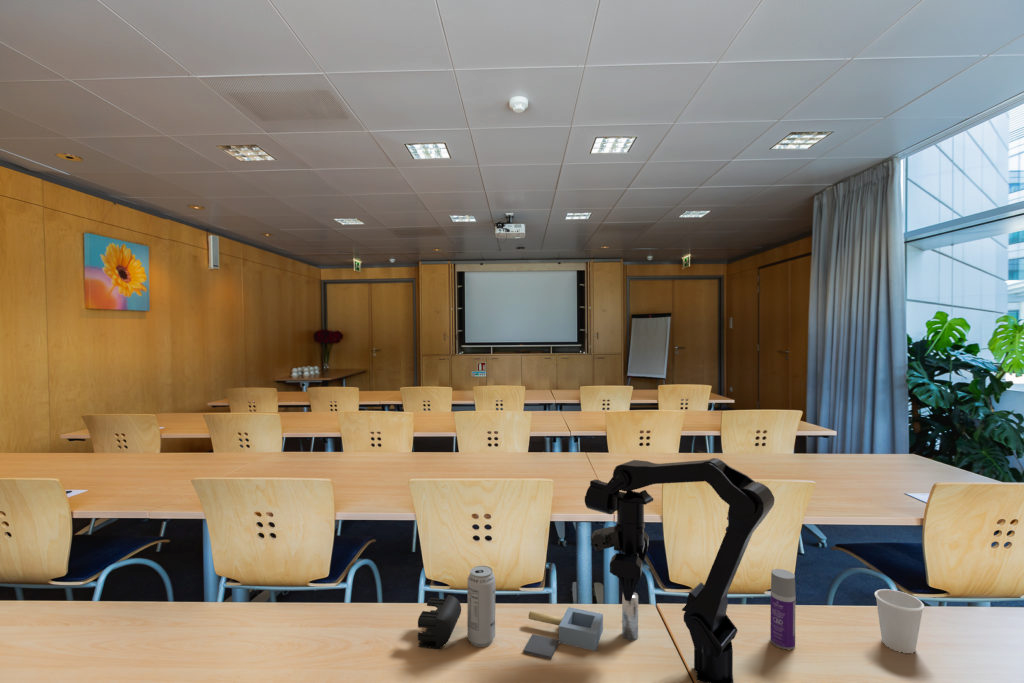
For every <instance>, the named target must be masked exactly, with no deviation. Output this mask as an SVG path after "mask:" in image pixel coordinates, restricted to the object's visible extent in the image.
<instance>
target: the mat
mask: <svg viewBox="0 0 1024 683" xmlns="http://www.w3.org/2000/svg"><path fill="white" fill-rule="evenodd" d="M558 643H559V639H556V638H553V637H547V636H544V635H538V634H536V633H535V634H534V633H532V634H531V636H530V637H529V639H528V641H527V643H526V645H525V647H524V648H523V652H522V653H523V654H526V655H531V656H534V657H538V658H542V659H547V660H552V659H553V656H554V654H555V652H556V650H557V647H558V645H559V644H560V643H559V644H558Z"/></svg>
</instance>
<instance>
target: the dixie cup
mask: <svg viewBox="0 0 1024 683" xmlns="http://www.w3.org/2000/svg"><path fill="white" fill-rule="evenodd" d="M874 597H875V598H876V600H875V601H876V606H877V614H878V616H877V617H878V622H879V628H880V636H881V642H882V644H883V643H884V644H885V645H884V644H883V645H884V646H885V647H886V648H888V647H889V648H888V649H890V650H892V649H893V650H892V651H895V652H897V651H898V653H901V652H903V653H902V654H905V653H912V654H914V653H913V652H915V653H916V651H917V644H918V638H919V632H920V628H921V621H922V615H923V614H922V613H923V610H924V609H925V603H923V602H922V601H921V600H920V599H918V598H917V597H915V596H914V595H912V594H911V595H910V594H909V593H906V592H903V591H899V590H895V589H888V588H883V589H882V588H881V589H878V590H875V592H874Z"/></svg>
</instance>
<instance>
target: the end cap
mask: <svg viewBox="0 0 1024 683" xmlns="http://www.w3.org/2000/svg"><path fill="white" fill-rule="evenodd" d="M426 607H435V608H436V610H434V609H433V610H432V609H431V610H429V611H426V610H423V611H422V612H421V613H420V614H419V616H418V620H417V628H421V629H425V630H424V631H423V630H422V631H421V632H417V641H418V647H419V648H421V649H429V650H430V649H433V650H438V649H439V650H440V649H441V648H442V647H444V646H445V645H446V644H448V643H449V640H450V639H451V636H452V634H453V631H454V630H455V627H456V625H457V623H458V621H459V619H460V616H461V613H462V605H461V603H460V601H459V600H458V599H457V597H455V596H454V595H451V594H448V595H447V597H446V598H436V597H435V598H433V597H430V598H429V599H428V601H427V603H426Z"/></svg>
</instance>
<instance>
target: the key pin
mask: <svg viewBox="0 0 1024 683" xmlns="http://www.w3.org/2000/svg"><path fill="white" fill-rule="evenodd" d="M621 595H622V600H621V604H622V606H621V607H622V608H621V609H622V610H621V614H622V616H621V618H622V619H621V620H622V623H621V626H622V628H621V633H622V634H621V635H622V637H623V639H624V640H627V641H636V640H638V639H639V595H638V593H637V592H636V591H634V594H633V596H632V598H631V601H626V600H625V598H624V594H623V592H622V594H621Z"/></svg>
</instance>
